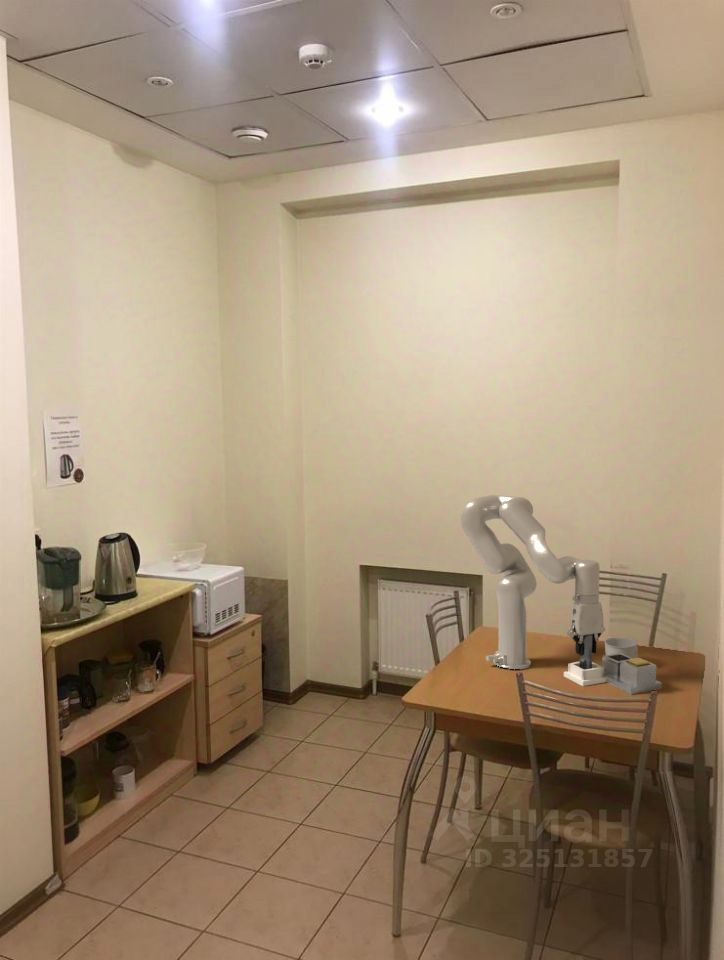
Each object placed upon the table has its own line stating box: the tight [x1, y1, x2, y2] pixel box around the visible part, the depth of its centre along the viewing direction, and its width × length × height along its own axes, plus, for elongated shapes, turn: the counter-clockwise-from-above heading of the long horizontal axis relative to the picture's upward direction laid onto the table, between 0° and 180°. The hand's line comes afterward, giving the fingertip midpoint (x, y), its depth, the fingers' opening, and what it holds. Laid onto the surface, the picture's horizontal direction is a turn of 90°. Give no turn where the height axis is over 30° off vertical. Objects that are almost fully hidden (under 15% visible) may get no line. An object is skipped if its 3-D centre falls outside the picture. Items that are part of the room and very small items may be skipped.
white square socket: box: [563, 661, 606, 687], centre depth 253 cm, size 10×10×4 cm
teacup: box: [604, 635, 639, 658], centre depth 268 cm, size 14×11×8 cm
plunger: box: [628, 657, 650, 667], centre depth 244 cm, size 4×4×6 cm
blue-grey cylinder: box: [578, 634, 593, 670], centre depth 252 cm, size 4×4×15 cm
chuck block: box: [601, 653, 663, 695], centre depth 249 cm, size 12×17×8 cm
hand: (585, 652), depth 252 cm, fingers open, 4 cm apart
